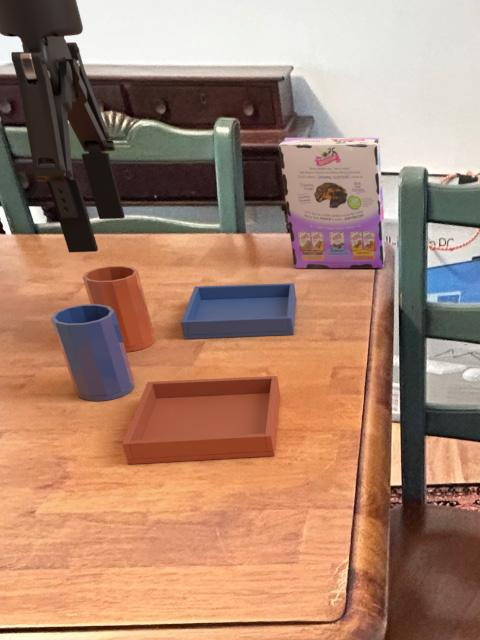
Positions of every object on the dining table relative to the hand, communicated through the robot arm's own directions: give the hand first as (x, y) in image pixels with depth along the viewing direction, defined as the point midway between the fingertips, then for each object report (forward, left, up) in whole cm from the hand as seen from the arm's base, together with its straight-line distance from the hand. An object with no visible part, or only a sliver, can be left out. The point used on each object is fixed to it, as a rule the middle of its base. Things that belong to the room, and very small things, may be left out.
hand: (99, 233), depth 81 cm
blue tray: (+13, +7, -12) cm, 19 cm away
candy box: (+26, +29, -12) cm, 41 cm away
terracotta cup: (0, 0, -12) cm, 12 cm away
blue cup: (0, -13, -12) cm, 18 cm away
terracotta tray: (+12, -23, -12) cm, 28 cm away
